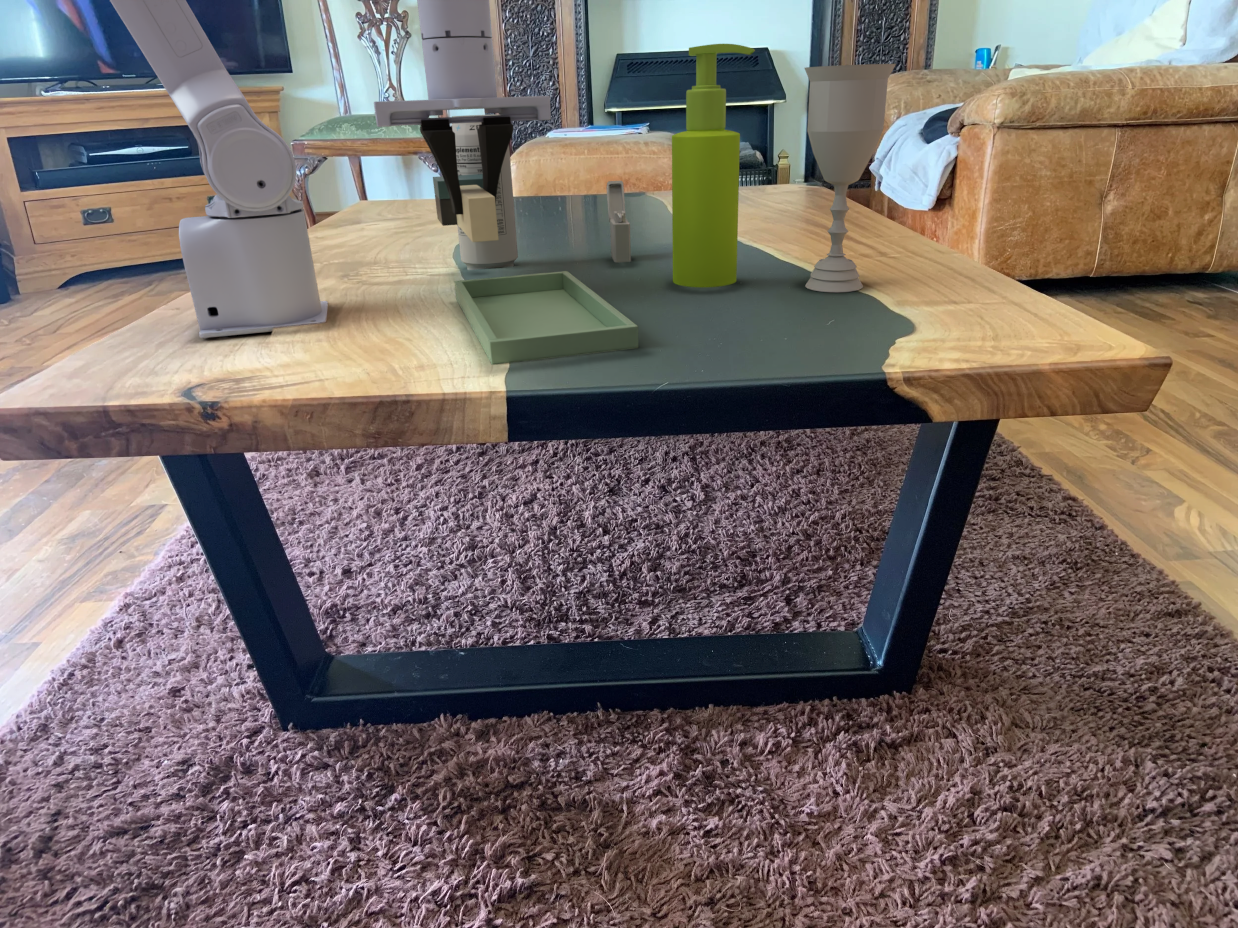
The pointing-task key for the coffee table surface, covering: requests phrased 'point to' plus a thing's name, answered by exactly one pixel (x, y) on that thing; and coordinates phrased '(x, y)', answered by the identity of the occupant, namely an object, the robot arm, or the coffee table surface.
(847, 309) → the coffee table surface
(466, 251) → the energy drink can
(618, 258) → the lighter
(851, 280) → the chalice
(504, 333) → the tray
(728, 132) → the soap dispenser
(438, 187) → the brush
